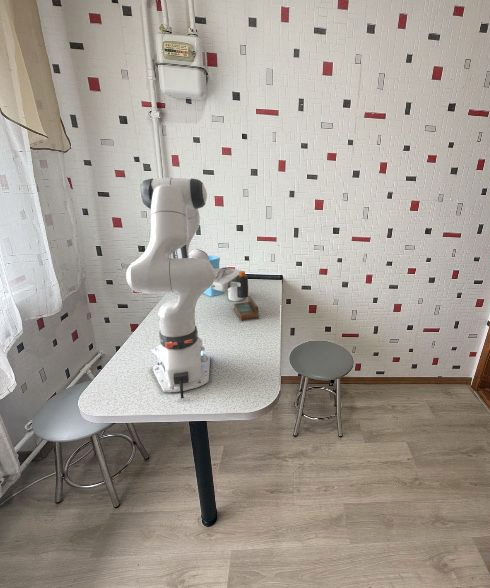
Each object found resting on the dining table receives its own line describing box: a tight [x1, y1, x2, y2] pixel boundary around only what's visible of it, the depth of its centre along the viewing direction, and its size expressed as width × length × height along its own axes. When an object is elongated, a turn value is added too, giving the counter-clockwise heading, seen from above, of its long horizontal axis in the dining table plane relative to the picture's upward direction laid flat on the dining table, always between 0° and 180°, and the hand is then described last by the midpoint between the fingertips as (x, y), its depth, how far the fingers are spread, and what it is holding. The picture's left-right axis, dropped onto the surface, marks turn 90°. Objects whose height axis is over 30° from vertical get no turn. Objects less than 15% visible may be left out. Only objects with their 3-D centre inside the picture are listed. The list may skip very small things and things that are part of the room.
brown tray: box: [233, 295, 259, 322], centre depth 158 cm, size 14×8×6 cm, turn 26°
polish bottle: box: [237, 270, 249, 299], centre depth 153 cm, size 5×5×12 cm
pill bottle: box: [227, 286, 244, 302], centre depth 173 cm, size 8×8×15 cm
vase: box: [202, 254, 224, 297], centre depth 178 cm, size 8×8×20 cm
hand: (244, 282), depth 152 cm, fingers closed on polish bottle, 5 cm apart
